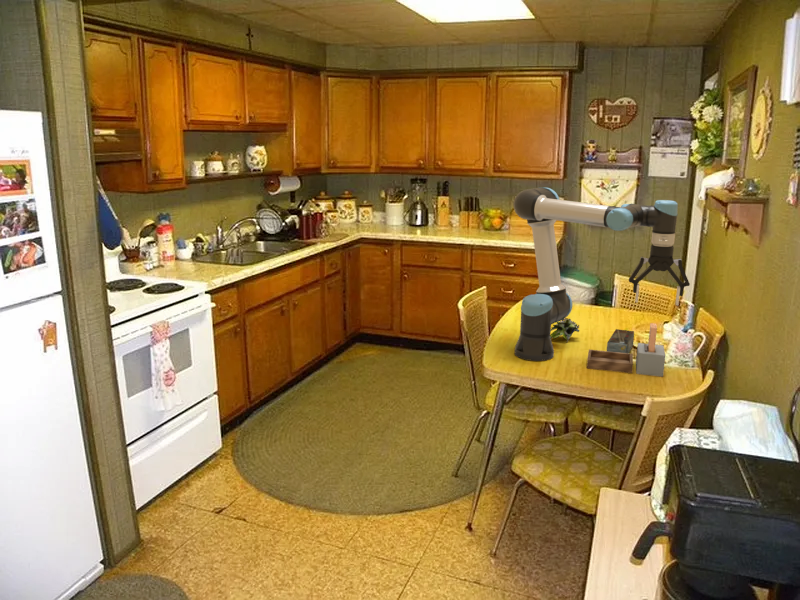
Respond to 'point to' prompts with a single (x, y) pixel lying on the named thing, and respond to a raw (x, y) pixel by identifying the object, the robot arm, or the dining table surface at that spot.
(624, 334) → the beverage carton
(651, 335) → the tan wooden bar
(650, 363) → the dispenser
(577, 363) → the dining table surface
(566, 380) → the dining table surface
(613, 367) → the tray
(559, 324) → the green leafy plant
